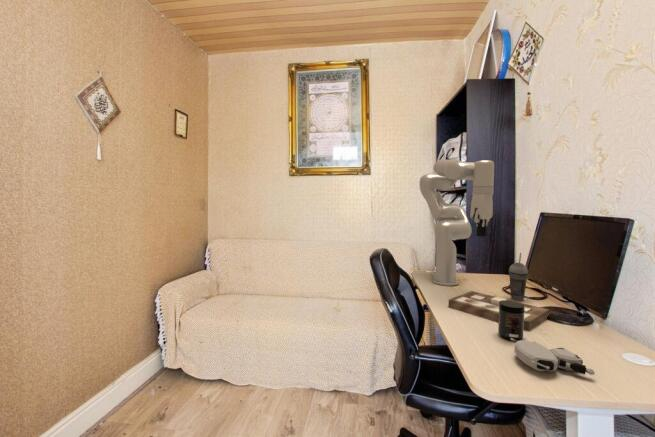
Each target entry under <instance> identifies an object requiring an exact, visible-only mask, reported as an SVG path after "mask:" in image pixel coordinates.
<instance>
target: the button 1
mask: <svg viewBox="0 0 655 437" xmlns="http://www.w3.org/2000/svg"><path fill="white" fill-rule="evenodd" d="M470 298H472V299H476V300H480V301H482V300H484V299H485V297H481V296H477V295H474V296H471V297H470Z"/></svg>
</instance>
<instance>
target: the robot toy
mask: <svg viewBox="0 0 655 437" xmlns="http://www.w3.org/2000/svg"><path fill="white" fill-rule="evenodd" d="M510 339H511V340H513V341H512V342H515V343H514V353H515V355H516V357H517V358H518V359H519V360H520V361H522V362H523V363H524V364H525V365H527V366H528V367H530V368H532V369H533V370H535V371H537V372H554V371H557V369H563V370H565V371H567V372H573V371H574V372H576V373H579V374H582V375H586V373H587V374H588V375H592V376H594V375H595V370H594V369H591V368H588V367H587V365H585V364H583V363H584V362H583V359H582V357H580V356H579V355H578V354H576V353H573V352H572V351H570V350H568V349H567V348H566V349H565V348H564V347H557V348H554V347H553V348H551V349H548V348H547V347H546V346H544V345H542V344H540V343H537V342H535V341H527V340H523V339H522V340H520V341H517V340H514V339H512V338H510Z"/></svg>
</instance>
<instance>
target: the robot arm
mask: <svg viewBox="0 0 655 437" xmlns="http://www.w3.org/2000/svg"><path fill="white" fill-rule="evenodd" d="M433 172H434V173H427V174H426V173H425V174H424V175H422V176H421V177H420V178H419V182H418V183H419V190H420V193H421V195H422V197H423V199H425V201H426V204H427V206H428V209H429V211H430V212H429V213H431V217H432V219H433V220H434V221H435V222H436V223H435V225H434V235H435V248H436V249H435V271H430V272H429V276H430V277H433V278H432V279H431V280H432V283H434V284H436V285H440V286H446V287H449V286H450V287H451V286H453V287H454V286H457V285H459V284H460V281H459V279H456V278H457V247H456V246H457V245H456V244H455V243H454V241H453V240H466V239H468V238H470V236H471V235H472V226H471V223H470V221H469V218H470V219H472V220H473V221H474V223H475V224H476V236H477V237H484V238H485V237H487V229H488V223H489V222H490V219H491V218H493V213H494V206H493V205H494V202H493V195H494V190H495V189H494V185H495V183H494V181H495V162H494V161H493V160H489V159H488V160H487V159H485V160H484V159H483V160H477V161H475V162H471V161H469V162H468V161H467V162H466V161H465V162H464V161H462V160H459V159H439V160H437V161H435V163H434V165H433ZM458 181H472V197H471V203H470V213H469V215H470V216H469V218H468V216H467V214H466V212H465V209H464V208H463V207H462V205H460V204H458V203H447V202H446V201H445V200H444V199H445V198H444V197H443V195H442V194H441V193H440V192H439V191H437V190H449V189H452V188H453V187H454V185H455V184H456V183H457V182H458Z"/></svg>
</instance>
